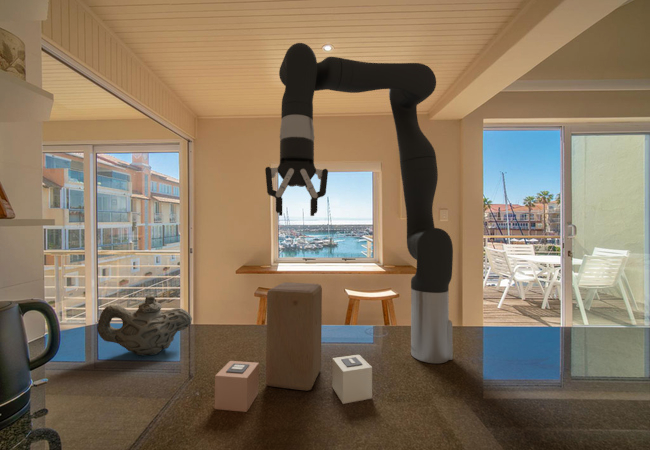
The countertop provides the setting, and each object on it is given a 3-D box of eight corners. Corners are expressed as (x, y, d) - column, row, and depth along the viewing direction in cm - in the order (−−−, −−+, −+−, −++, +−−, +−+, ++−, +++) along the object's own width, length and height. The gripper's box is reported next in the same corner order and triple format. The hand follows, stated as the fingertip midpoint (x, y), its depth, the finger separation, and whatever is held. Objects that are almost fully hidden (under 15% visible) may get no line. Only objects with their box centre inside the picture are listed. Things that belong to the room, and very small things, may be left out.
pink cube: (258, 393, 57) (258, 361, 57) (246, 412, 51) (247, 376, 51) (229, 391, 58) (230, 359, 58) (214, 409, 52) (215, 373, 52)
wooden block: (311, 393, 57) (312, 291, 57) (263, 387, 59) (265, 289, 59) (322, 369, 67) (322, 283, 67) (281, 365, 69) (282, 281, 69)
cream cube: (358, 383, 61) (359, 353, 61) (372, 398, 55) (372, 365, 56) (332, 387, 59) (332, 356, 59) (342, 404, 54) (343, 369, 54)
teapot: (191, 339, 85) (192, 288, 85) (191, 354, 75) (193, 295, 75) (102, 351, 76) (103, 294, 76) (88, 370, 65) (90, 304, 66)
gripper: (326, 147, 69) (326, 217, 68) (265, 144, 67) (264, 216, 66) (331, 137, 61) (331, 215, 61) (262, 133, 59) (262, 214, 59)
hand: (296, 215), depth 64 cm, fingers open, 6 cm apart
